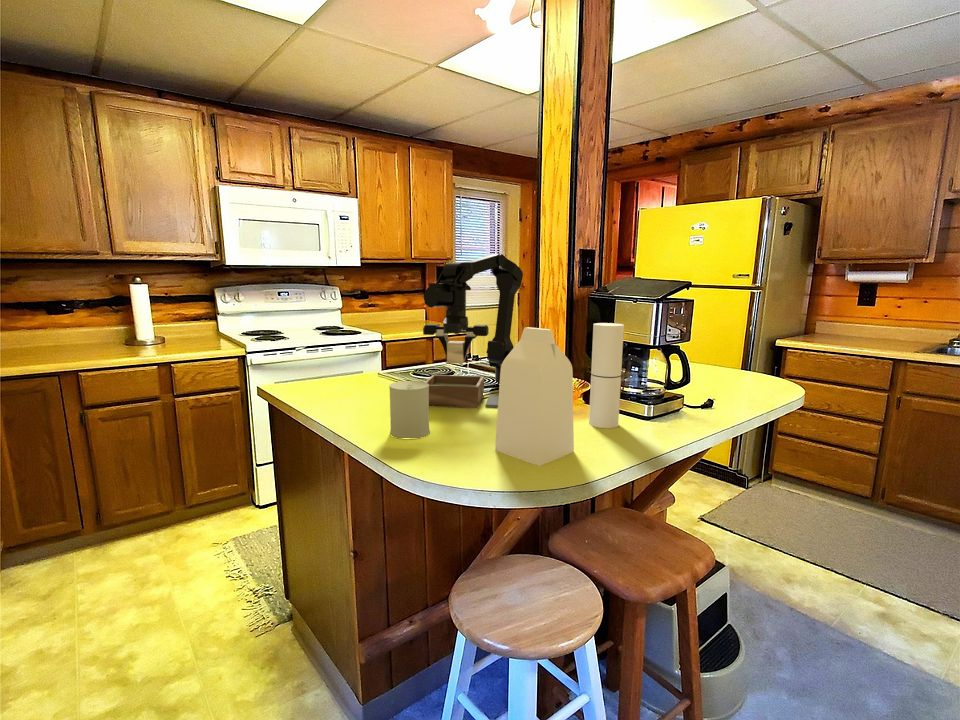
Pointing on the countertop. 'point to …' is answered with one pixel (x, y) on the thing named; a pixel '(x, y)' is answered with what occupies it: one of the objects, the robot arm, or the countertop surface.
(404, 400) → the can
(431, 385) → the crate
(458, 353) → the block
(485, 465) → the countertop surface
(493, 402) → the pad
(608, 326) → the cylindrical container
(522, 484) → the countertop surface
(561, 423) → the milk
